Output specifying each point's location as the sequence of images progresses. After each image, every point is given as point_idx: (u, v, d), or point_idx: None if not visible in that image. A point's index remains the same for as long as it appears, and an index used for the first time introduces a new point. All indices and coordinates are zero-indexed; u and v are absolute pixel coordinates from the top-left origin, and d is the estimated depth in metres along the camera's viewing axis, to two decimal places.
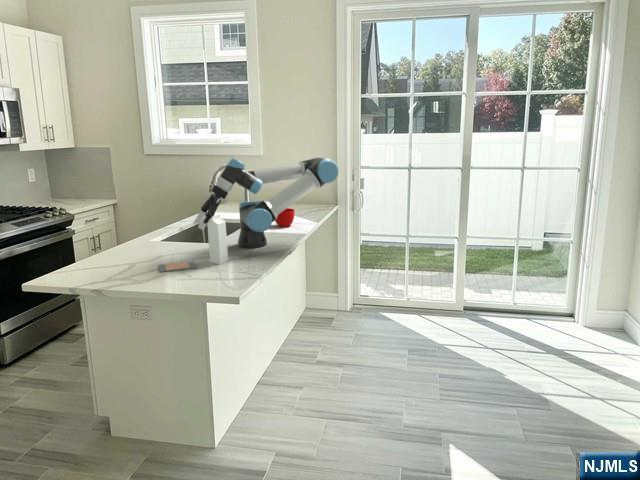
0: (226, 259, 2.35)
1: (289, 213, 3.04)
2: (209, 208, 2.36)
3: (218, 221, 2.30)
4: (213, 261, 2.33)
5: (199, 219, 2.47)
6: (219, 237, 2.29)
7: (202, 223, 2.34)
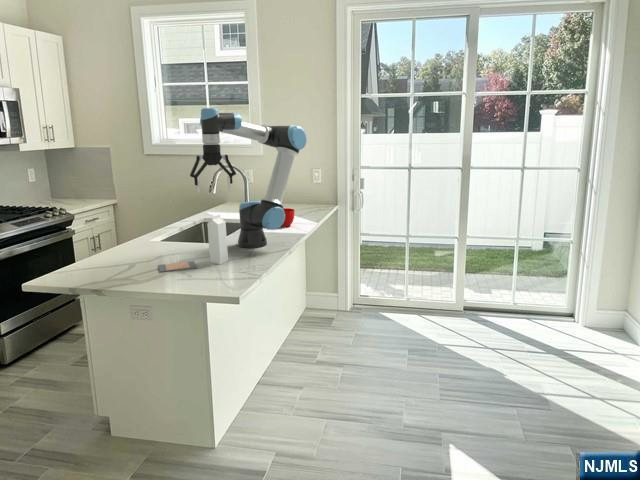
0: (226, 259, 2.35)
1: (289, 213, 3.04)
2: (225, 168, 2.26)
3: (218, 221, 2.30)
4: (213, 261, 2.33)
5: None
6: (219, 237, 2.29)
7: None
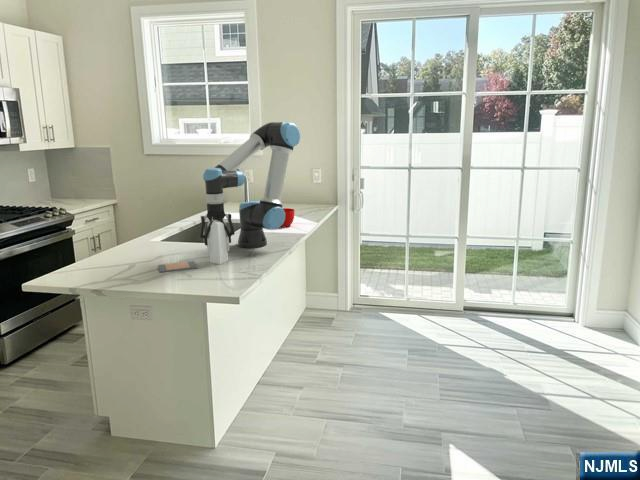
0: (226, 259, 2.35)
1: (289, 213, 3.04)
2: (226, 228, 2.32)
3: (218, 221, 2.30)
4: (213, 261, 2.33)
5: None
6: (219, 237, 2.29)
7: (228, 244, 2.35)
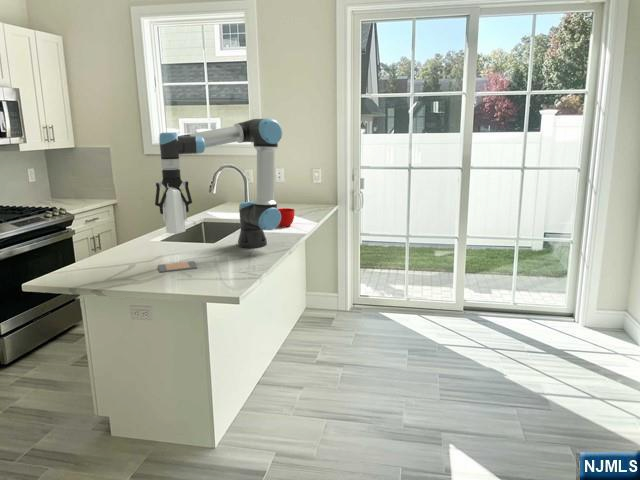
0: (183, 229, 2.25)
1: (289, 213, 3.04)
2: (183, 196, 2.21)
3: (174, 188, 2.19)
4: (169, 231, 2.22)
5: None
6: (174, 205, 2.18)
7: None
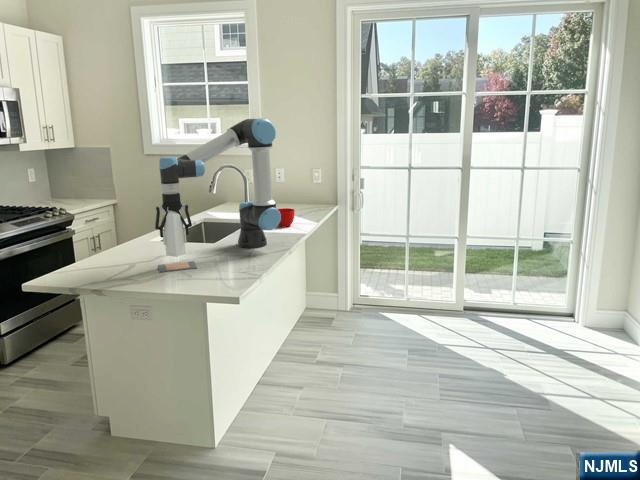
0: (183, 252, 2.27)
1: (289, 213, 3.04)
2: (182, 219, 2.23)
3: (174, 212, 2.21)
4: (169, 254, 2.24)
5: None
6: (174, 228, 2.20)
7: None
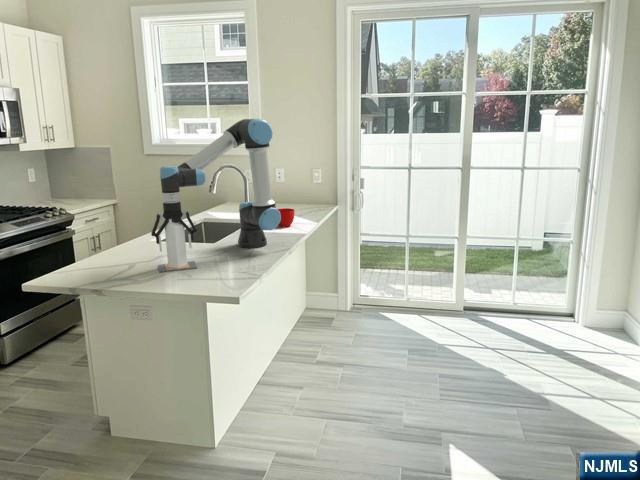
0: (185, 263, 2.28)
1: (289, 213, 3.04)
2: (186, 226, 2.24)
3: (176, 223, 2.22)
4: (171, 265, 2.26)
5: None
6: (176, 240, 2.21)
7: None
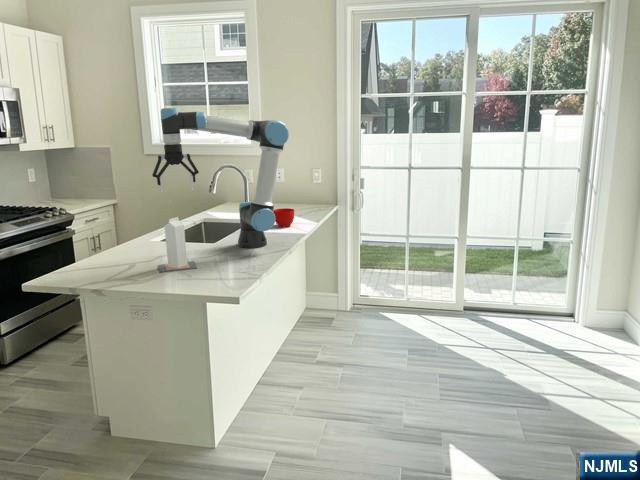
0: (185, 263, 2.28)
1: (289, 213, 3.04)
2: (188, 167, 2.28)
3: (176, 223, 2.22)
4: (171, 265, 2.26)
5: None
6: (176, 240, 2.21)
7: (193, 184, 2.31)
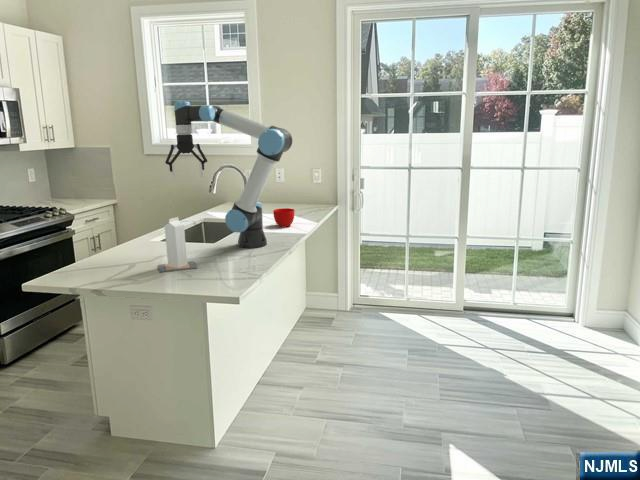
0: (185, 263, 2.28)
1: (289, 213, 3.04)
2: (197, 156, 2.51)
3: (176, 223, 2.22)
4: (171, 265, 2.26)
5: None
6: (176, 240, 2.21)
7: None
